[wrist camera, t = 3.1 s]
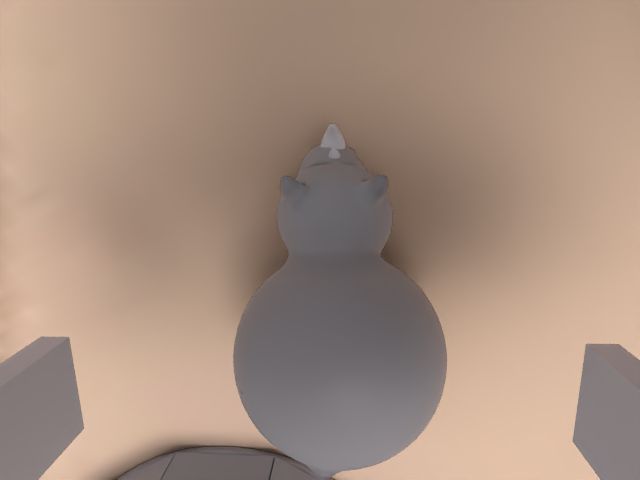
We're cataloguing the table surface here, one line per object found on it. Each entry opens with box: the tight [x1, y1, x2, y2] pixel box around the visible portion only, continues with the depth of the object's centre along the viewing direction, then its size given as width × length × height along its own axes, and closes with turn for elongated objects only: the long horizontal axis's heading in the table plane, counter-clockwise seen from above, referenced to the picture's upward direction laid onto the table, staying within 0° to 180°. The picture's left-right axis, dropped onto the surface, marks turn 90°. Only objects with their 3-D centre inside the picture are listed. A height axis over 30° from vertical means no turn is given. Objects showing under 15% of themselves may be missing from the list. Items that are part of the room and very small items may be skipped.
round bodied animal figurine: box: [234, 123, 447, 477], centre depth 16 cm, size 7×12×8 cm, turn 1°
